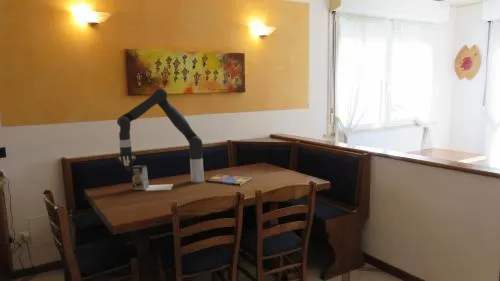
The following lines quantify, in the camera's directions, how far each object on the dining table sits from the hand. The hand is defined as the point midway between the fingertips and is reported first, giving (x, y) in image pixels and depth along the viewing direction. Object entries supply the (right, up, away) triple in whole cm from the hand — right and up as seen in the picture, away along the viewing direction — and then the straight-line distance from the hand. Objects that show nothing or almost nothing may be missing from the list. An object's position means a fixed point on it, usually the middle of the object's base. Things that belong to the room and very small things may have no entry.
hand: (127, 170), depth 269 cm
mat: (+21, -12, +4) cm, 25 cm away
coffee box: (+9, -13, +3) cm, 16 cm away
